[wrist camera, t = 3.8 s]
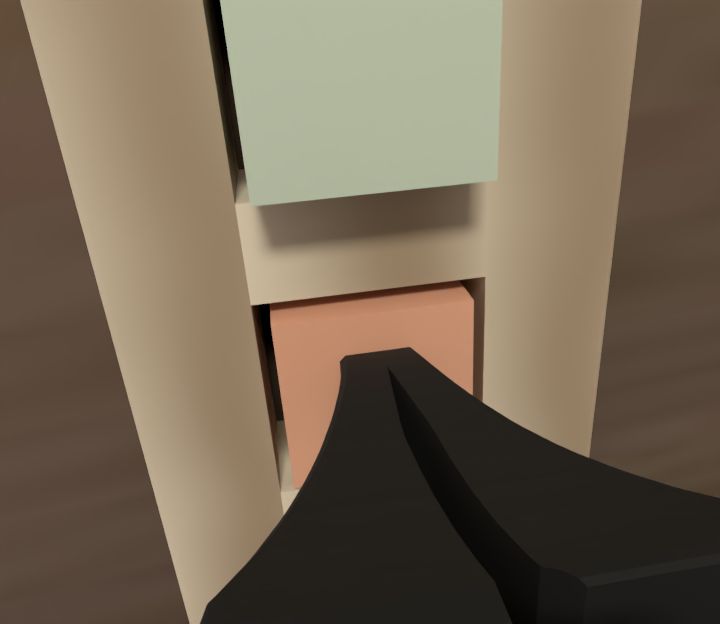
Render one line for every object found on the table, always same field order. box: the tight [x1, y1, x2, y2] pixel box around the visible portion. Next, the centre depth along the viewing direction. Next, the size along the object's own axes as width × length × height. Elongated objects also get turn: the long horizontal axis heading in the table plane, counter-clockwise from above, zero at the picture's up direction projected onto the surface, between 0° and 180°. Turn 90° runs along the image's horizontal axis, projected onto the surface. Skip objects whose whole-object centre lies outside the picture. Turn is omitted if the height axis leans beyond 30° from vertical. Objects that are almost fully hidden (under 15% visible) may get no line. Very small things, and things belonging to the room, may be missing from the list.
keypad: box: [20, 0, 642, 624], centre depth 13 cm, size 9×20×2 cm, turn 4°
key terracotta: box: [270, 280, 474, 488], centre depth 13 cm, size 4×4×2 cm
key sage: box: [220, 0, 503, 207], centre depth 9 cm, size 4×4×2 cm
